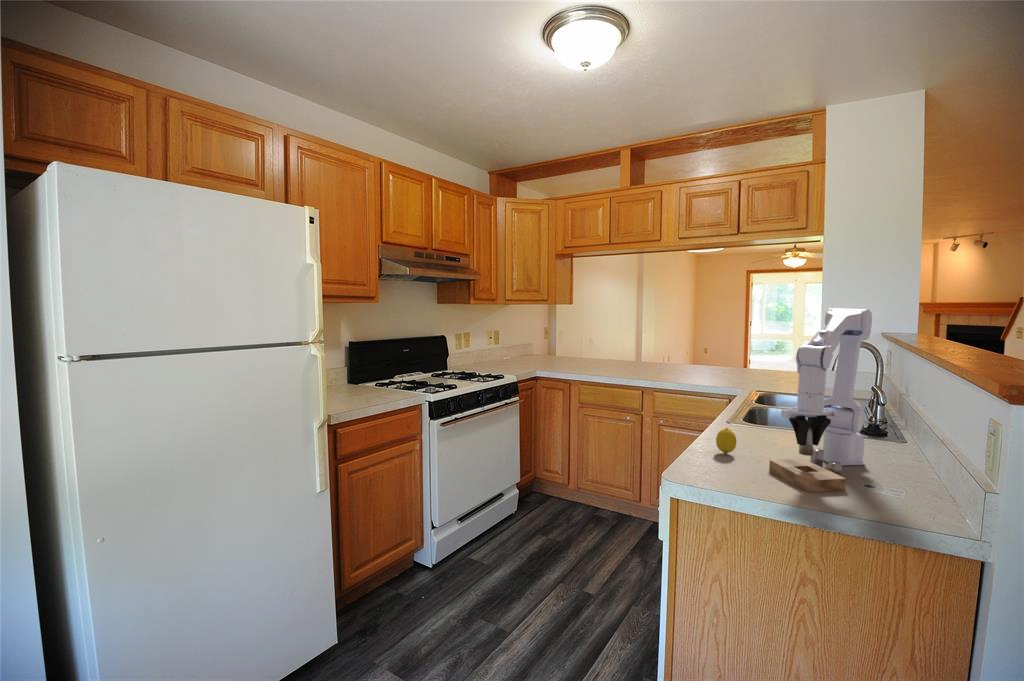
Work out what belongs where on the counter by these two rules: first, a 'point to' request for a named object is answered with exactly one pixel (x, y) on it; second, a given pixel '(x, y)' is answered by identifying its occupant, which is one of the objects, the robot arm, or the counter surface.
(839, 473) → the pin short
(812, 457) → the pin medium
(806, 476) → the hole block
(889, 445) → the counter surface
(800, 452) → the pin tall
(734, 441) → the lemon
